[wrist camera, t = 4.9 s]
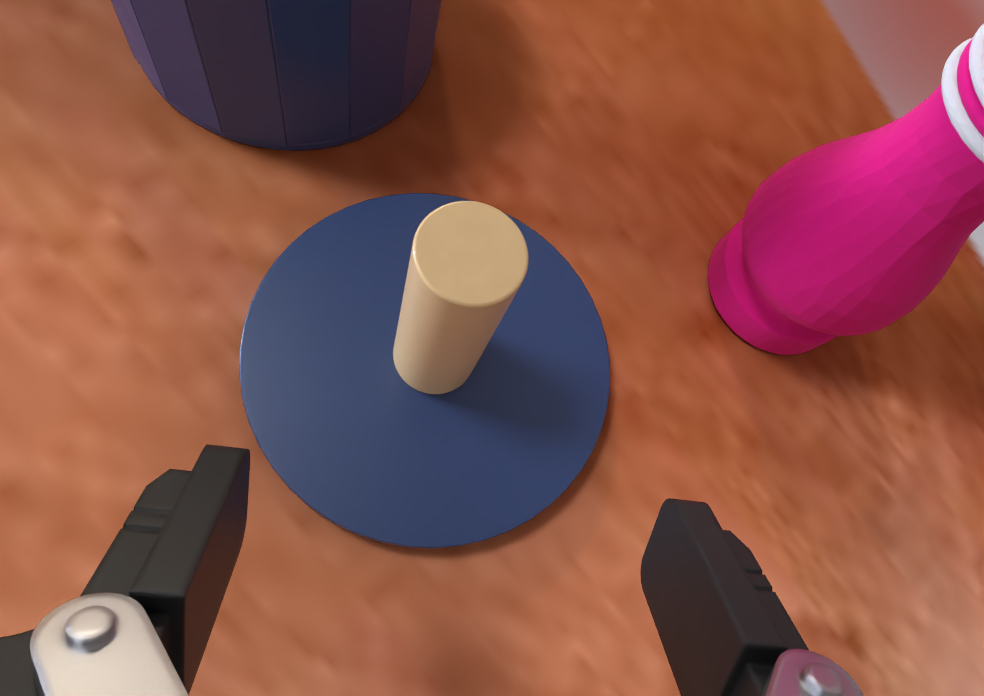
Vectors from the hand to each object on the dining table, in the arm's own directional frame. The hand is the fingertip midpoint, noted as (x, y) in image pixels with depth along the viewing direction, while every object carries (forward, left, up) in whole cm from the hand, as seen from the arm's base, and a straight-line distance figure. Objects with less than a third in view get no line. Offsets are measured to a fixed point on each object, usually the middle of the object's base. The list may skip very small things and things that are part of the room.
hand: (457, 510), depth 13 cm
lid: (+6, +3, -11) cm, 13 cm away
